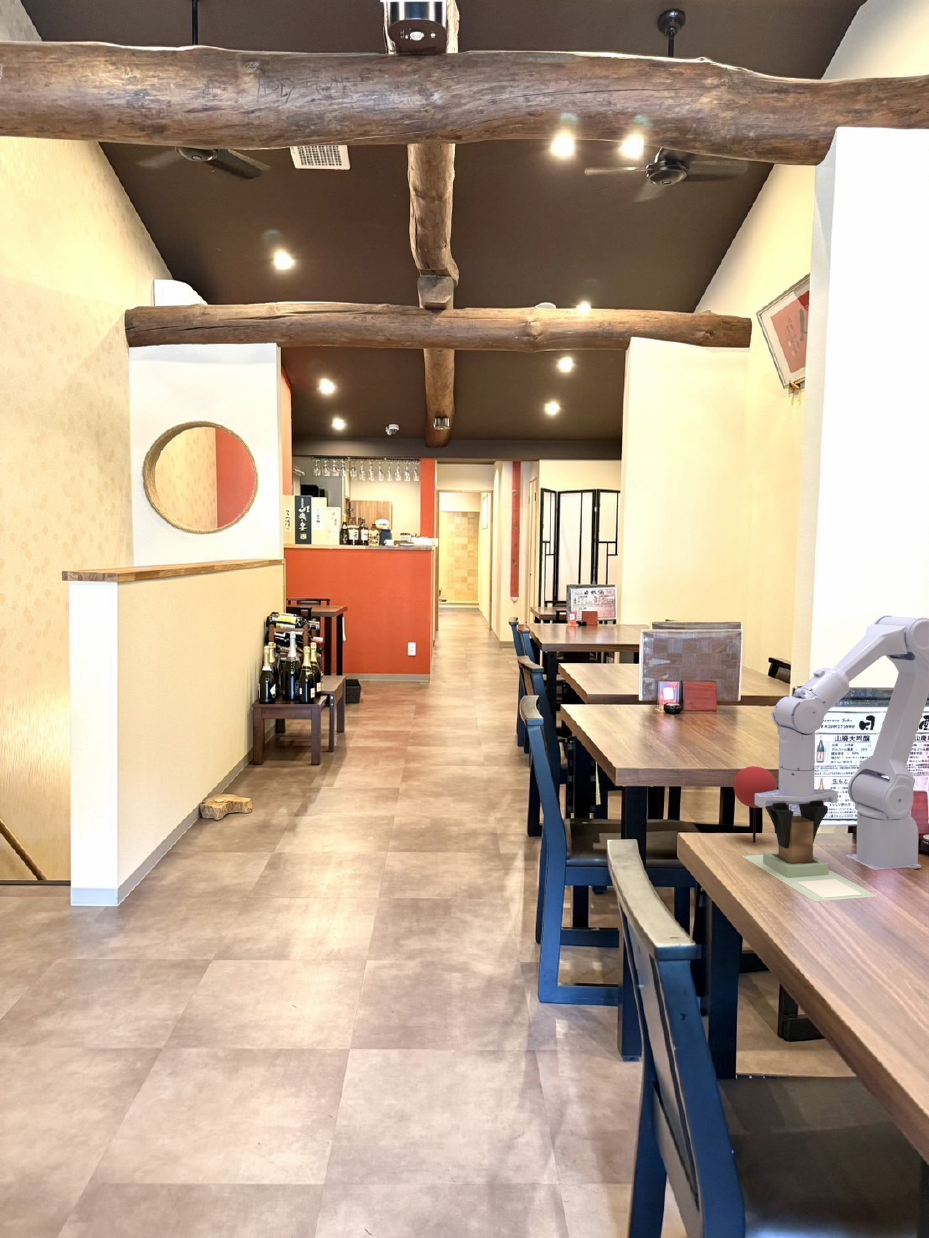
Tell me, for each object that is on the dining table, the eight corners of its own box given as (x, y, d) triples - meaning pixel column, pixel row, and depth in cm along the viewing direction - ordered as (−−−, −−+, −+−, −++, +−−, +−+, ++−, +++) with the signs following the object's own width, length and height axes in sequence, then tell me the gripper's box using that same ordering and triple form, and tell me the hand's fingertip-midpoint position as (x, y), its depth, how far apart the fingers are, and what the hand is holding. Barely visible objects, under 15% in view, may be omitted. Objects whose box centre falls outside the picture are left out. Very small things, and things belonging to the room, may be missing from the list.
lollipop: (781, 851, 156) (782, 771, 155) (740, 851, 156) (741, 771, 155) (767, 838, 163) (768, 762, 163) (728, 838, 164) (728, 762, 163)
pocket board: (797, 855, 154) (797, 842, 154) (878, 900, 132) (878, 885, 132) (741, 859, 152) (741, 846, 152) (814, 905, 130) (815, 890, 130)
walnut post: (799, 854, 147) (799, 815, 147) (812, 862, 143) (813, 821, 143) (778, 856, 146) (778, 816, 146) (791, 863, 142) (792, 823, 142)
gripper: (820, 760, 149) (819, 835, 150) (745, 764, 147) (744, 841, 147) (845, 769, 142) (844, 848, 143) (767, 773, 140) (766, 853, 140)
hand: (795, 845), depth 145 cm, fingers closed on walnut post, 4 cm apart
